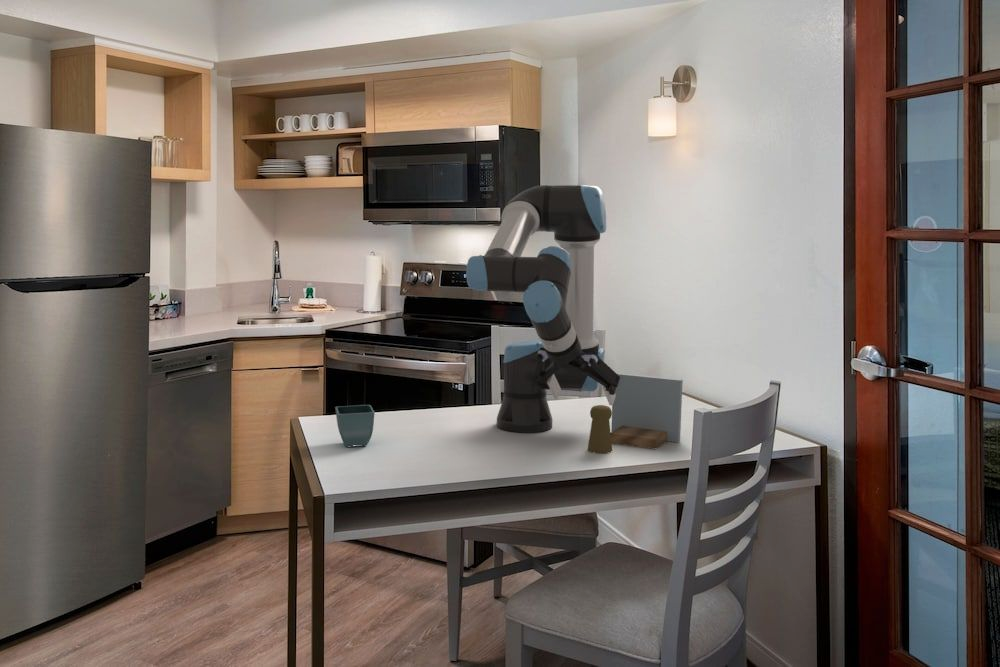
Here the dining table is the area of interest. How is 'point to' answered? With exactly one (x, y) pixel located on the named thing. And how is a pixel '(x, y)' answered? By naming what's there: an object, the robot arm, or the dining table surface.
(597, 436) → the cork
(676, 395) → the back board
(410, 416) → the dining table surface
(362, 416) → the flower pot
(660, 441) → the brown flat block
